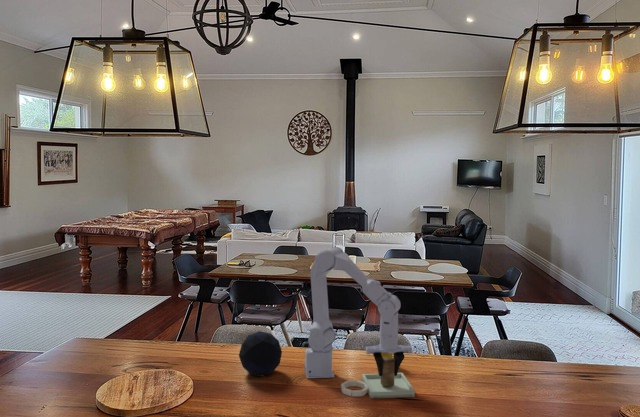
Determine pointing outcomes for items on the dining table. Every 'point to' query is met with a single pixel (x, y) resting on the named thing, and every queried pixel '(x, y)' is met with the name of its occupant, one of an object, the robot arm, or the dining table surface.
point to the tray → (397, 390)
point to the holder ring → (354, 392)
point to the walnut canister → (388, 371)
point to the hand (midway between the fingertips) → (387, 374)
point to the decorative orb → (260, 353)
